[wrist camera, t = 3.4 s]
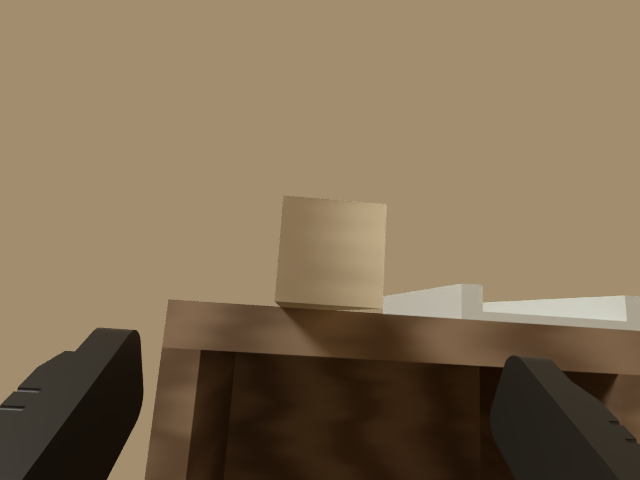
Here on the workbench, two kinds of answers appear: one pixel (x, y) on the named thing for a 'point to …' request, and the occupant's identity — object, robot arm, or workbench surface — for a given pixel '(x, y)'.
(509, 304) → the trough
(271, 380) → the shelf
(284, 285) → the beige wooden rod
